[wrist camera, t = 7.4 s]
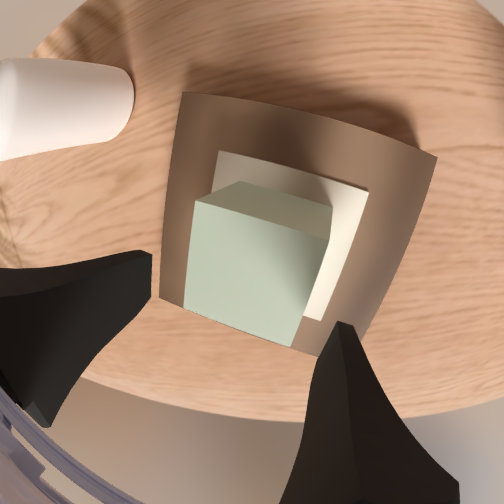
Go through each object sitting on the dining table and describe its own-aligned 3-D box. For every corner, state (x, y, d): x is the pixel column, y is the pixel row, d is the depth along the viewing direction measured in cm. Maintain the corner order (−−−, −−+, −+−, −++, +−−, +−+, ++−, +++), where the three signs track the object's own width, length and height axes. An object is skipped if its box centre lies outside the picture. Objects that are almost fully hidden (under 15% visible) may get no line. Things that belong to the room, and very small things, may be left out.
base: (421, 154, 14) (438, 157, 11) (347, 338, 20) (346, 367, 17) (205, 97, 16) (181, 91, 14) (178, 279, 22) (157, 298, 20)
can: (94, 154, 21) (-29, 186, 10) (78, 93, 19) (-38, 102, 8) (146, 119, 18) (-3, 131, 8) (127, 52, 16) (-5, 35, 6)
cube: (333, 207, 14) (329, 240, 9) (305, 290, 16) (290, 347, 12) (239, 180, 15) (195, 200, 10) (224, 263, 17) (183, 307, 12)
